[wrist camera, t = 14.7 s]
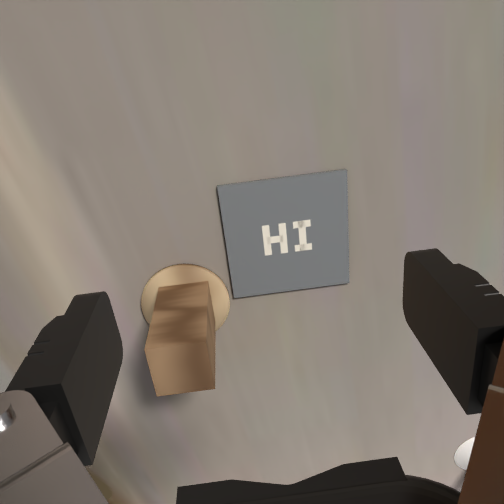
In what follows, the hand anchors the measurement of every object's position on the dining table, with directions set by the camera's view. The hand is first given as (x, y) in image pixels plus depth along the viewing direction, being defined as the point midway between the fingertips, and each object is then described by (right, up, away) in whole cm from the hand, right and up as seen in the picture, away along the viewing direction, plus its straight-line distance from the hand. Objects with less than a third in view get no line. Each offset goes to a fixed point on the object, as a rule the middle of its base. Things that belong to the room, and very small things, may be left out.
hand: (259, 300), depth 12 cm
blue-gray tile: (+3, +3, +32) cm, 33 cm away
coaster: (-7, -4, +35) cm, 36 cm away
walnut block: (-7, -4, +34) cm, 35 cm away
